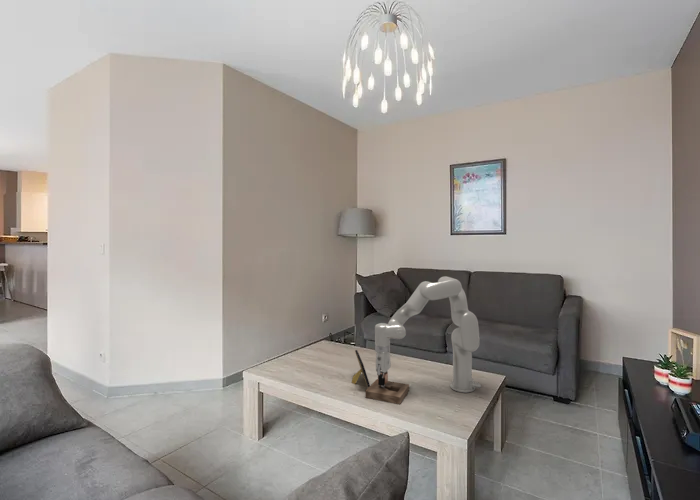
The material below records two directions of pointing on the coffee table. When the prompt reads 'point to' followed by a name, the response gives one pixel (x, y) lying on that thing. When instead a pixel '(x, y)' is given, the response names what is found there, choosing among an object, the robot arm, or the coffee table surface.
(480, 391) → the coffee table surface
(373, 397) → the keyhole board
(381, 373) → the peg
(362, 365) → the picture frame
